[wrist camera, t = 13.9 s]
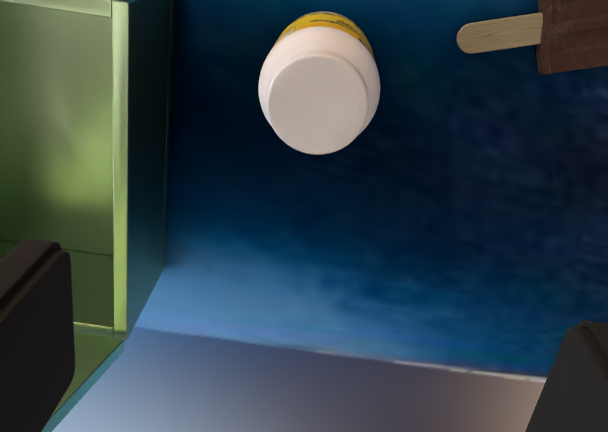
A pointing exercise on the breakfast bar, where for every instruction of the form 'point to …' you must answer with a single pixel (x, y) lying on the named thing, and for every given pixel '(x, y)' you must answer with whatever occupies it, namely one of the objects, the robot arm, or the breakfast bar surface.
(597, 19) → the ice cream bar
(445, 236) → the breakfast bar surface
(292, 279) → the breakfast bar surface
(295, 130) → the pill bottle
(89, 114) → the bin
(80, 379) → the bin lid
